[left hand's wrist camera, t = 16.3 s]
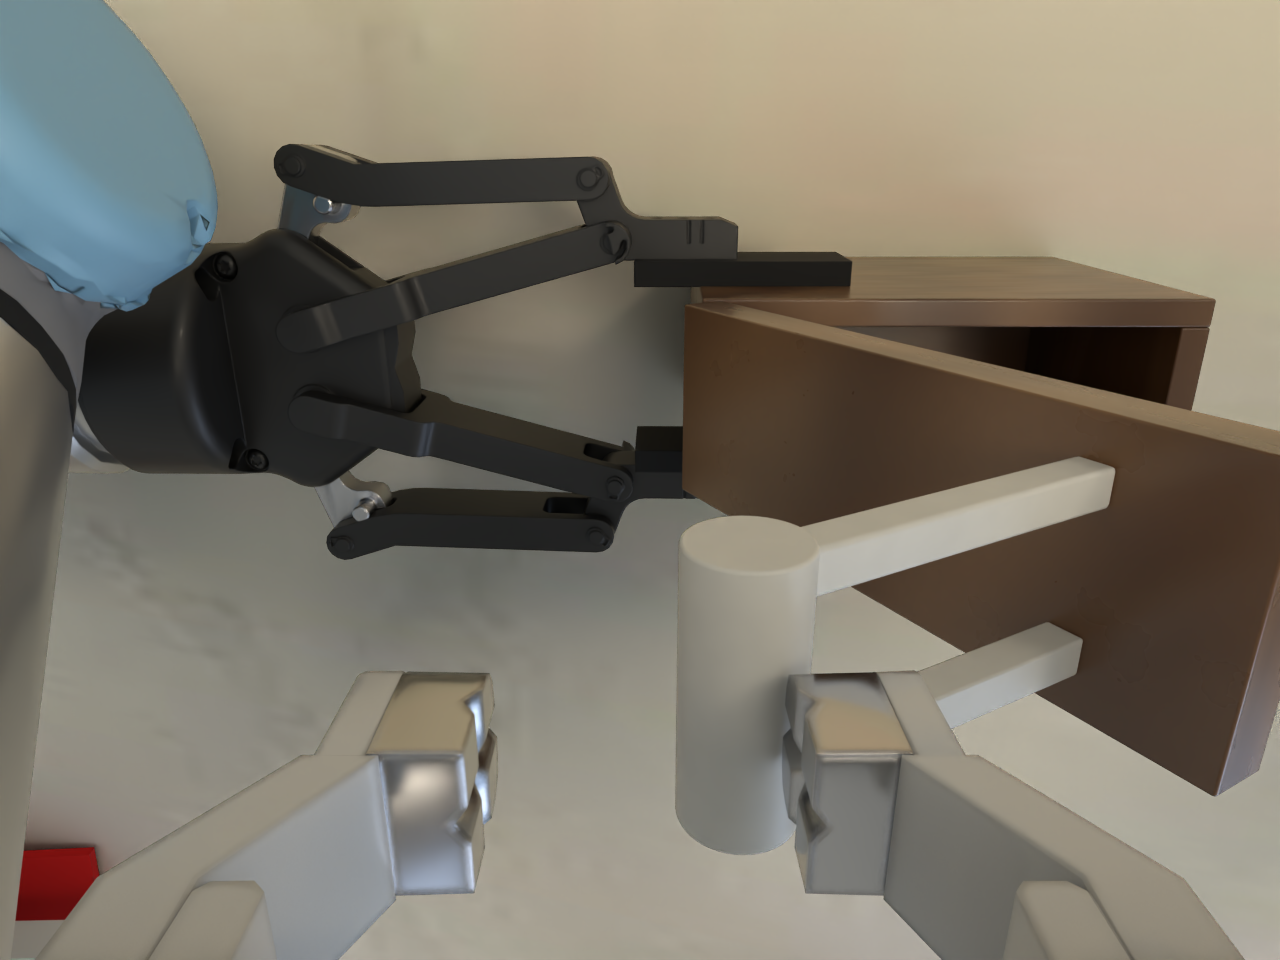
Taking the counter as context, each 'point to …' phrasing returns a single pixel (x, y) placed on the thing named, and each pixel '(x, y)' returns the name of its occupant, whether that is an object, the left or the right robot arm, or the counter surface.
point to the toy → (49, 895)
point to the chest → (1013, 318)
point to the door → (962, 553)
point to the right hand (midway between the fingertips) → (834, 362)
